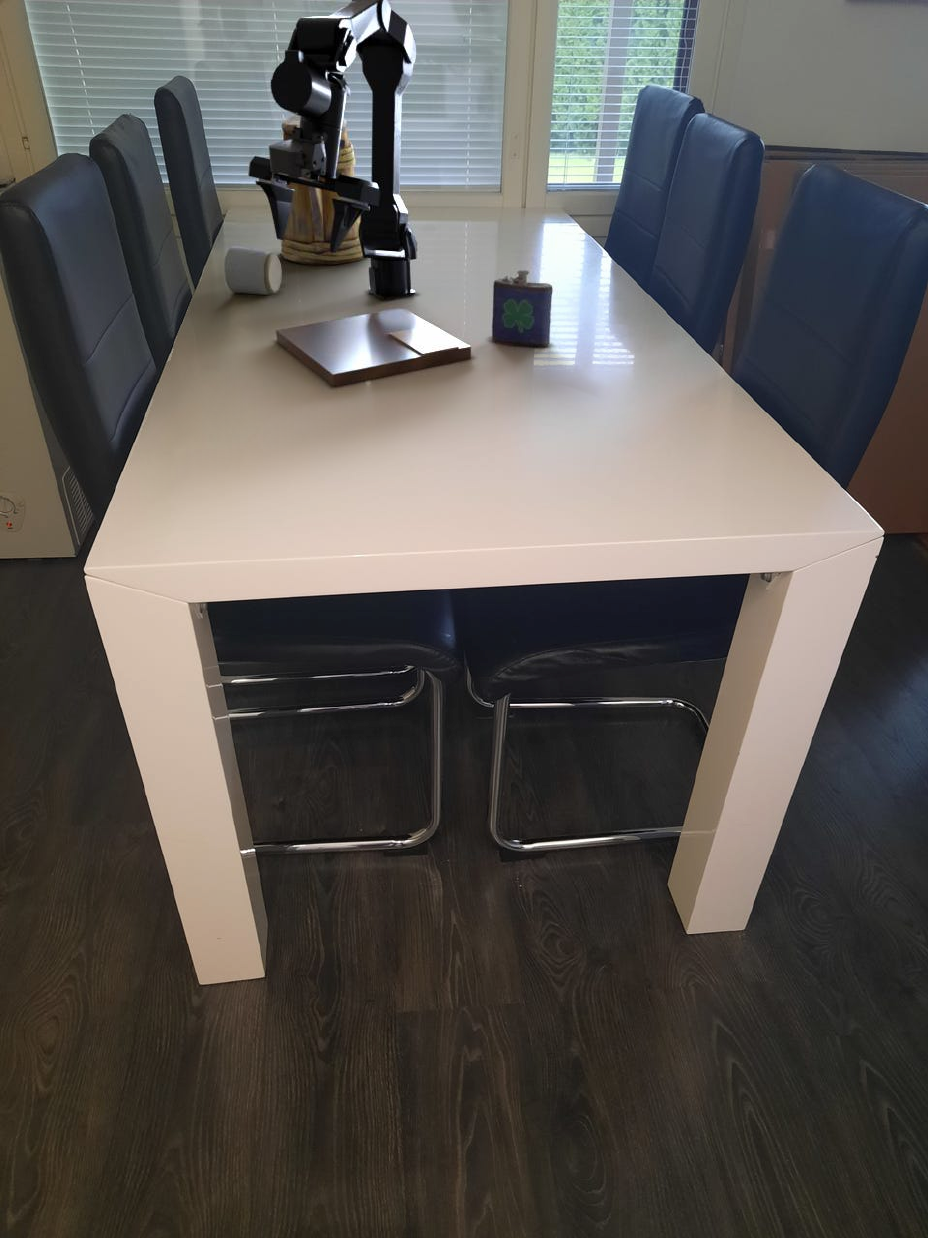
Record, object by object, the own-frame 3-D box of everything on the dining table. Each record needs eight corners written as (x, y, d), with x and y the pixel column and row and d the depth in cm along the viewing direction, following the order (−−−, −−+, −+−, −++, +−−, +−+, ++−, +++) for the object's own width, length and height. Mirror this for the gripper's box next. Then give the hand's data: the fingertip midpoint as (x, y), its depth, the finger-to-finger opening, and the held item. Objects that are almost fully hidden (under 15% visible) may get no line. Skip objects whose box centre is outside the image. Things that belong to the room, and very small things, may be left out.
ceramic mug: (270, 300, 150) (264, 253, 146) (227, 297, 152) (220, 251, 147) (292, 284, 159) (287, 240, 154) (251, 282, 160) (245, 238, 156)
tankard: (369, 242, 184) (361, 108, 170) (370, 271, 166) (361, 123, 151) (285, 244, 183) (268, 109, 168) (276, 274, 164) (257, 124, 149)
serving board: (402, 318, 142) (402, 305, 141) (471, 358, 127) (471, 344, 125) (277, 341, 133) (275, 327, 132) (334, 387, 118) (332, 372, 116)
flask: (551, 343, 132) (555, 270, 125) (545, 349, 130) (549, 275, 123) (495, 336, 134) (496, 264, 128) (488, 342, 132) (489, 269, 126)
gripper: (228, 101, 114) (218, 227, 120) (347, 124, 108) (330, 255, 115) (278, 118, 124) (266, 234, 130) (390, 141, 118) (371, 261, 124)
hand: (306, 245), depth 124 cm, fingers open, 9 cm apart
